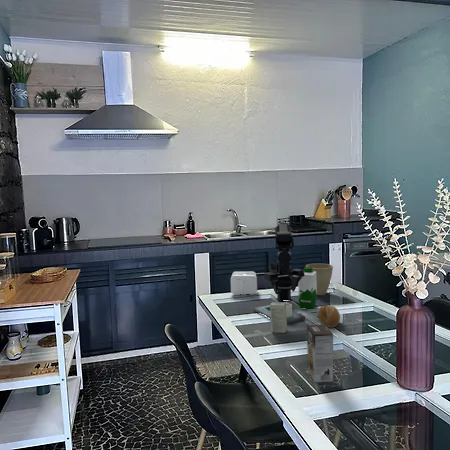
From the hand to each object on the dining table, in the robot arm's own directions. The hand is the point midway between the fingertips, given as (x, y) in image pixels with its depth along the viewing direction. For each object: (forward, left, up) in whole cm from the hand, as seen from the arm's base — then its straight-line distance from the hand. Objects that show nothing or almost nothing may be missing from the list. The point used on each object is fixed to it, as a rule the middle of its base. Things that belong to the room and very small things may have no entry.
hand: (284, 292), depth 194 cm
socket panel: (0, -6, -12) cm, 14 cm away
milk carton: (-19, -9, -13) cm, 25 cm away
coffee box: (+21, +54, -13) cm, 59 cm away
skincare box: (+11, +12, -13) cm, 21 cm away
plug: (0, 0, -12) cm, 12 cm away
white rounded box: (-4, -50, -13) cm, 52 cm away
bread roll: (-13, +15, -13) cm, 24 cm away
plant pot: (-40, -27, -13) cm, 50 cm away
